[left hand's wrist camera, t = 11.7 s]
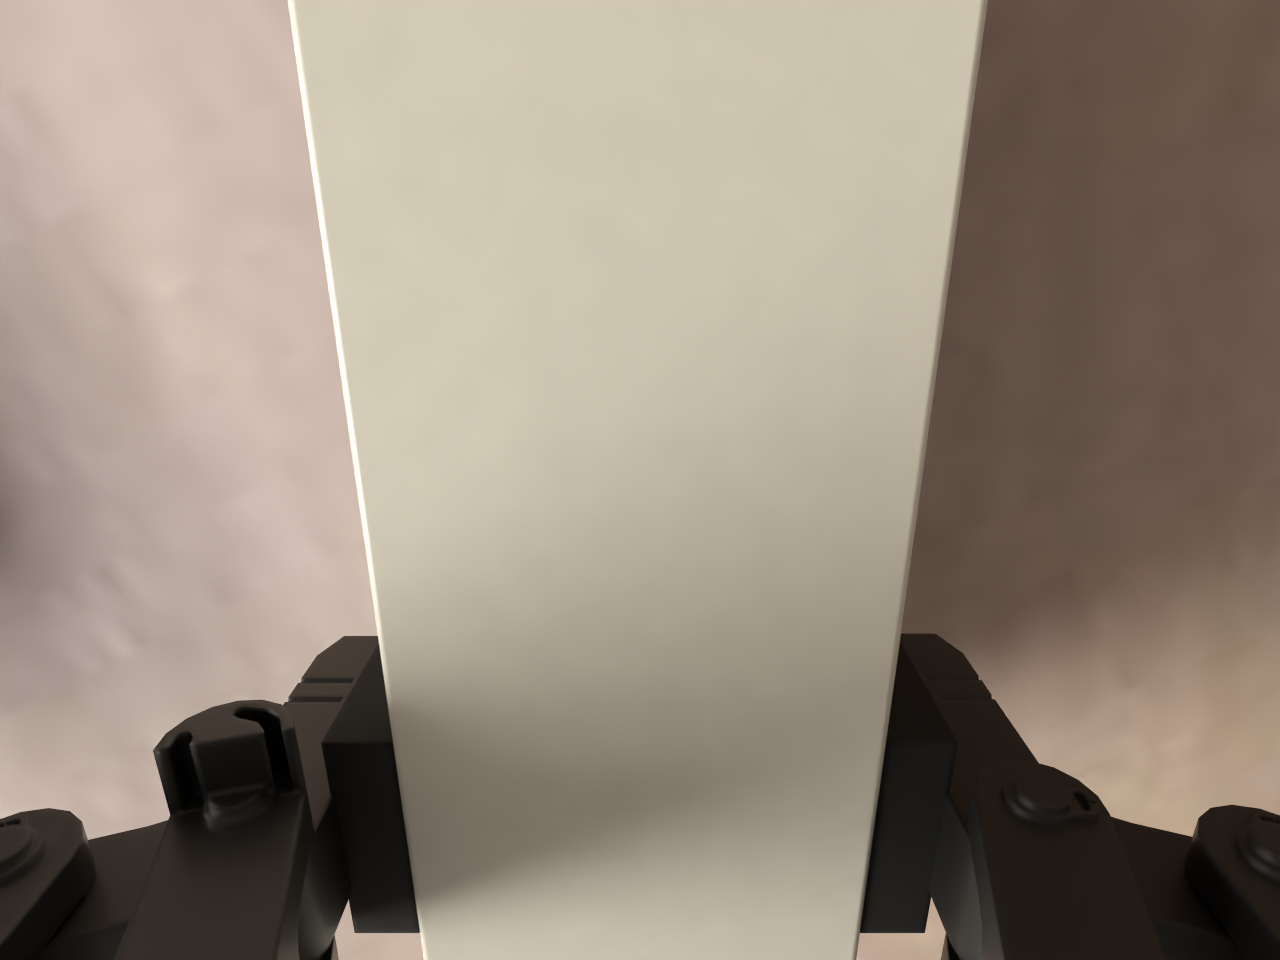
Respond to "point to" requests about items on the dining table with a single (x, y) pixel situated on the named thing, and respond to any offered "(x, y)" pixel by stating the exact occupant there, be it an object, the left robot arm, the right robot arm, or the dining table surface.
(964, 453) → the dining table surface
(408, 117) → the post
